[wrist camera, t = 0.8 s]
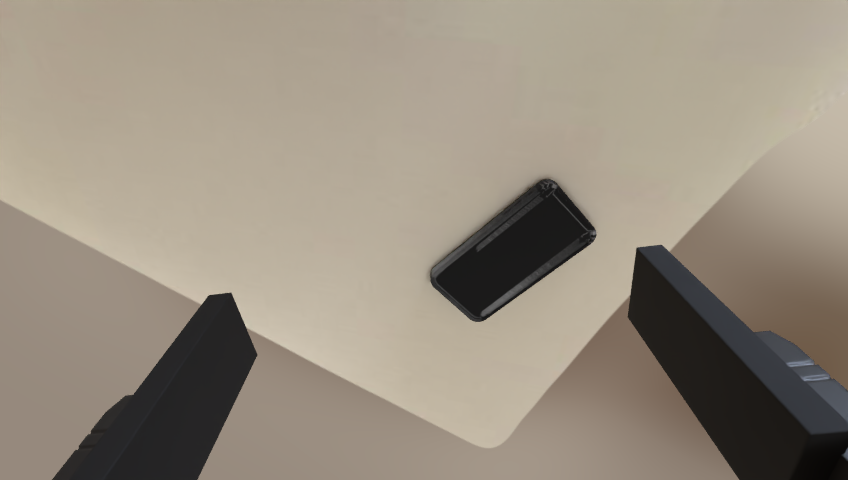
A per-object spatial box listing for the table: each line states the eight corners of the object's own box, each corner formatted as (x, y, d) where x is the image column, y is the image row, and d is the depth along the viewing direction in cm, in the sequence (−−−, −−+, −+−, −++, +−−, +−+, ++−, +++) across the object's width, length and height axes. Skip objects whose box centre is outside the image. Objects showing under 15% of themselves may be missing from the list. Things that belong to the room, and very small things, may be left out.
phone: (601, 236, 39) (477, 325, 43) (596, 230, 40) (475, 319, 44) (551, 177, 36) (424, 279, 41) (547, 173, 37) (424, 273, 42)
